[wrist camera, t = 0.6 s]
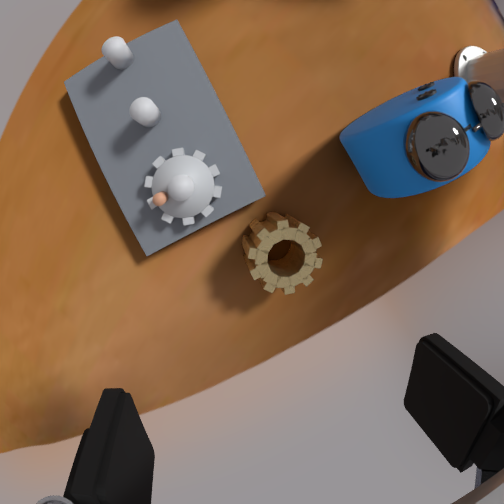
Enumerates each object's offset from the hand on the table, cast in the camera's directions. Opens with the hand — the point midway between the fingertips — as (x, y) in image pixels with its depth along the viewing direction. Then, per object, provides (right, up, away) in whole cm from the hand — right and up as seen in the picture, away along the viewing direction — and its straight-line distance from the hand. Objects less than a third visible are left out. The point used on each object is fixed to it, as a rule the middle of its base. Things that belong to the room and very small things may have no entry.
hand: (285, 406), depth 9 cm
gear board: (-9, +16, +18) cm, 26 cm away
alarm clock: (+12, +17, +21) cm, 29 cm away
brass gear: (+1, +5, +22) cm, 23 cm away
